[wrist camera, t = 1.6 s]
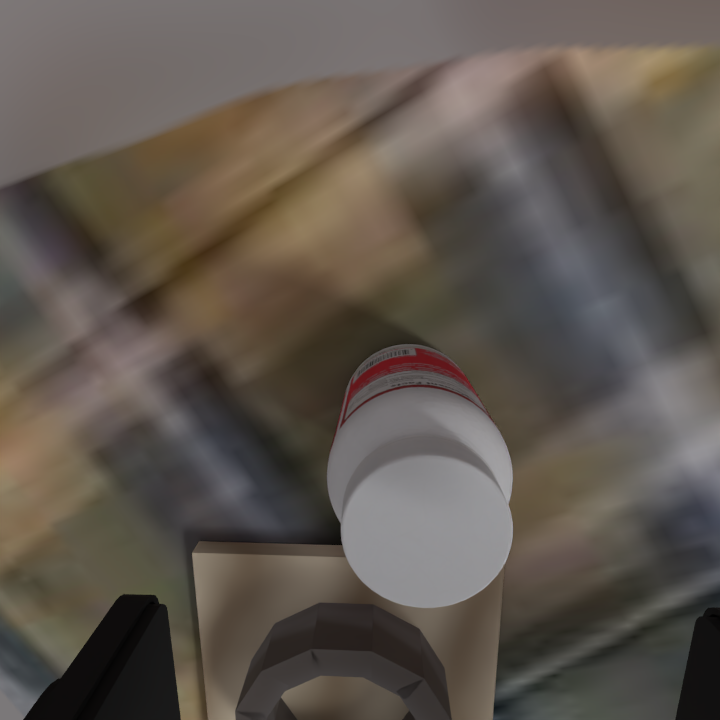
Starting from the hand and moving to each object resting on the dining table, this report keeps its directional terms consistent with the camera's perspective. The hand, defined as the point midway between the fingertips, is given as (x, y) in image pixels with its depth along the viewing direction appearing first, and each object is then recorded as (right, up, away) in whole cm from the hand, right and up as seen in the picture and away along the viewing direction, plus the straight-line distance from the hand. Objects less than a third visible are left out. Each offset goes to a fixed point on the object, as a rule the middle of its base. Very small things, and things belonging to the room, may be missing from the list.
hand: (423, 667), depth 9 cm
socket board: (-2, -12, +19) cm, 23 cm away
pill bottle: (+1, +3, +15) cm, 16 cm away
